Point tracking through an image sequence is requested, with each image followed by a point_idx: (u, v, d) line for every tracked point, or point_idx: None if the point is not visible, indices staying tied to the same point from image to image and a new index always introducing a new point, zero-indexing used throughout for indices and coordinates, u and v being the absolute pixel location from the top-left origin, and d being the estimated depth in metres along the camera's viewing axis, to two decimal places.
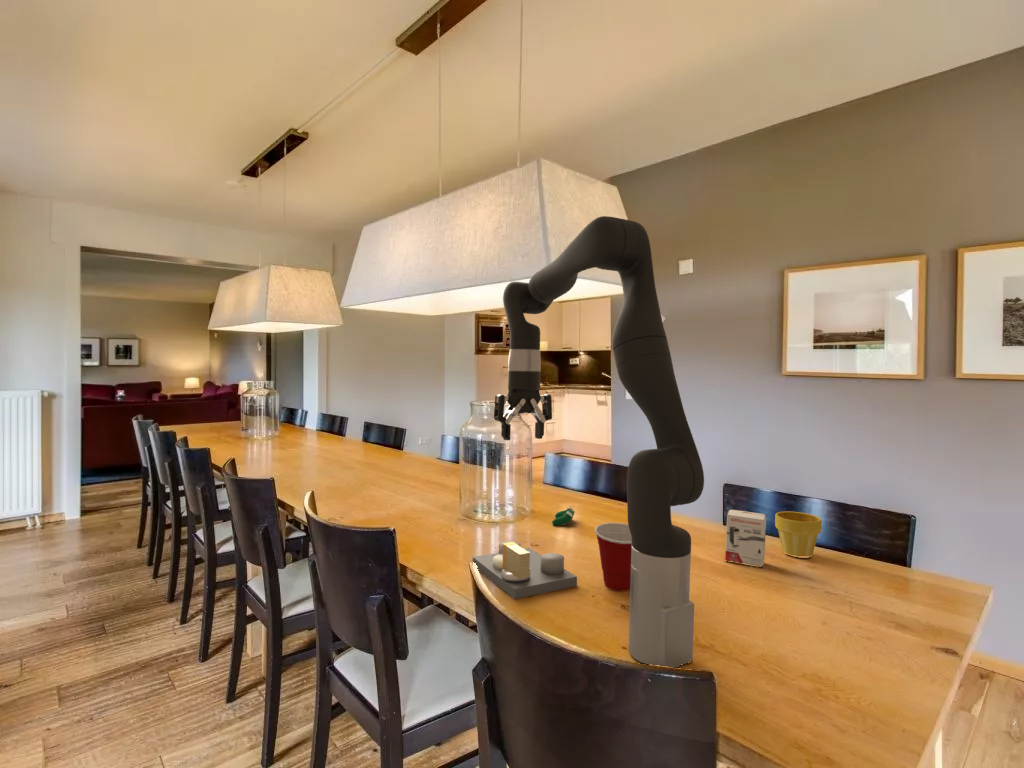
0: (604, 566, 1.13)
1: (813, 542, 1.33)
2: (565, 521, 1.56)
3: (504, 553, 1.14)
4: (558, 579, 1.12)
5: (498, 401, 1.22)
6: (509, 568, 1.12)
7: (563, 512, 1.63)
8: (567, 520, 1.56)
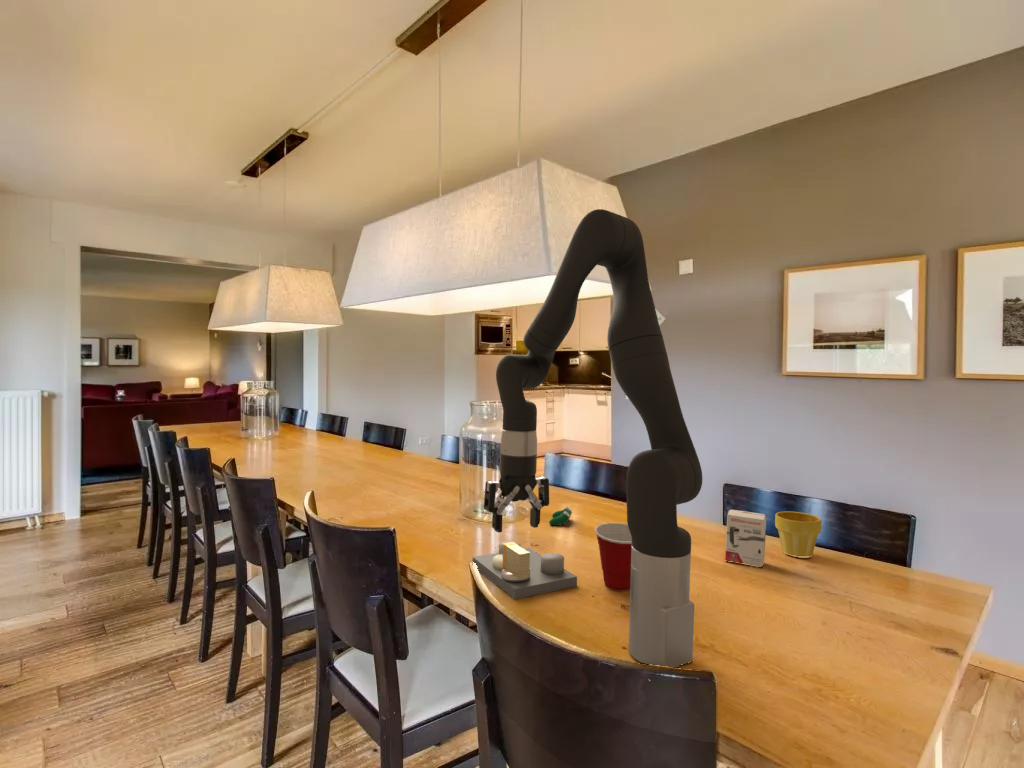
0: (604, 566, 1.13)
1: (813, 542, 1.33)
2: (562, 521, 1.56)
3: (504, 553, 1.14)
4: (558, 579, 1.12)
5: (489, 490, 1.08)
6: (509, 568, 1.12)
7: (560, 512, 1.63)
8: (564, 520, 1.56)
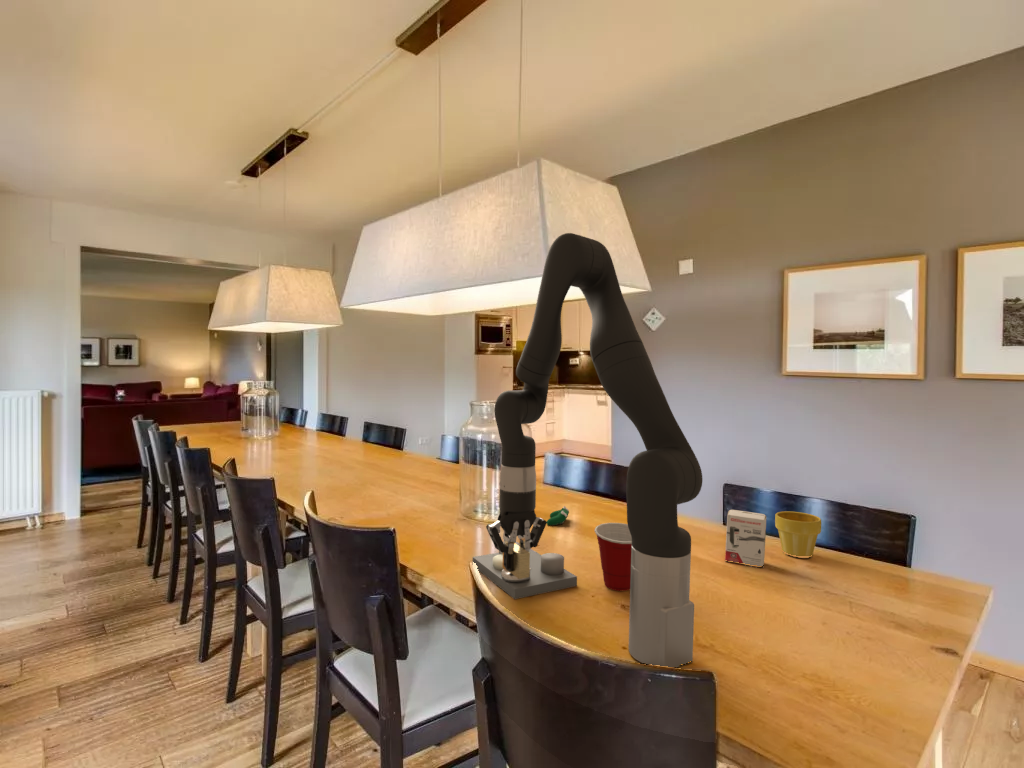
0: (604, 566, 1.13)
1: (813, 542, 1.33)
2: (559, 521, 1.56)
3: None
4: (558, 579, 1.12)
5: (492, 534, 1.09)
6: None
7: (558, 512, 1.63)
8: (561, 520, 1.56)
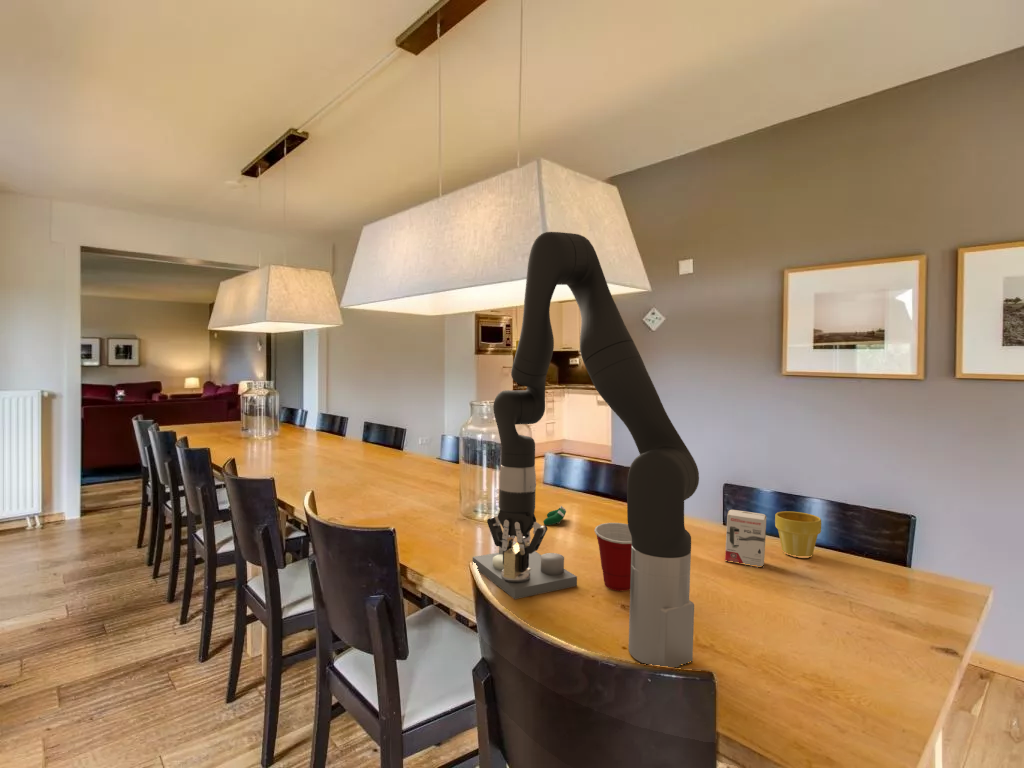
0: (604, 566, 1.13)
1: (813, 542, 1.33)
2: (556, 520, 1.57)
3: None
4: (558, 579, 1.12)
5: None
6: None
7: (555, 511, 1.63)
8: (558, 519, 1.57)
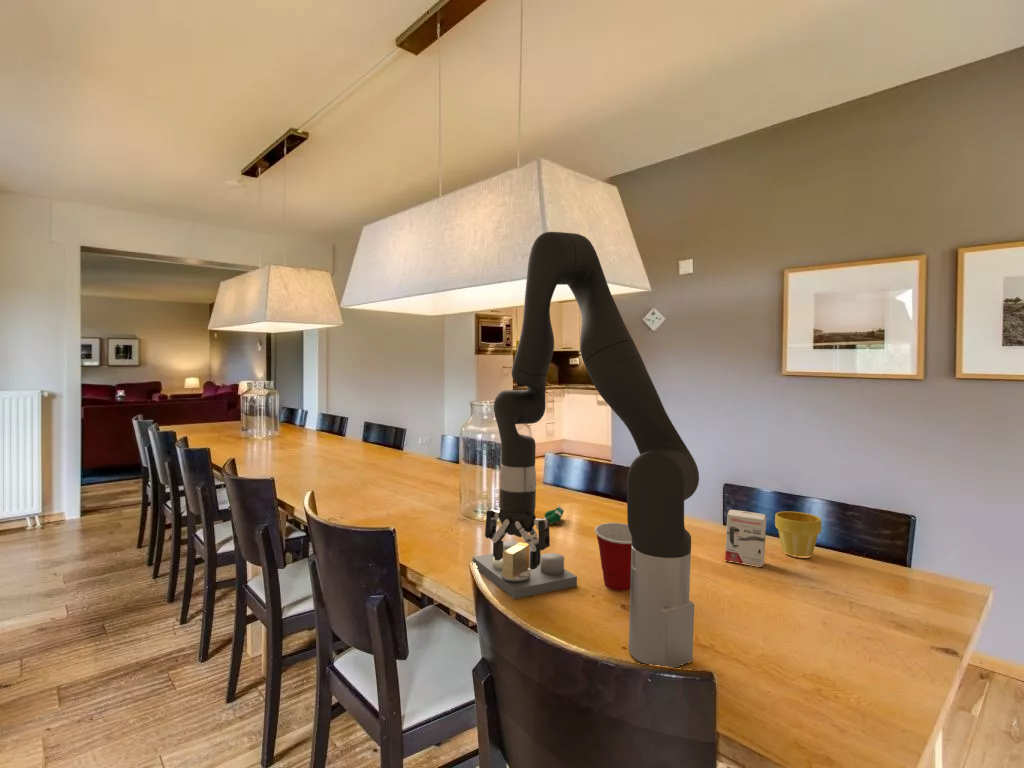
0: (604, 566, 1.13)
1: (813, 542, 1.33)
2: (554, 520, 1.57)
3: None
4: (558, 579, 1.12)
5: None
6: None
7: (552, 511, 1.64)
8: (556, 519, 1.57)
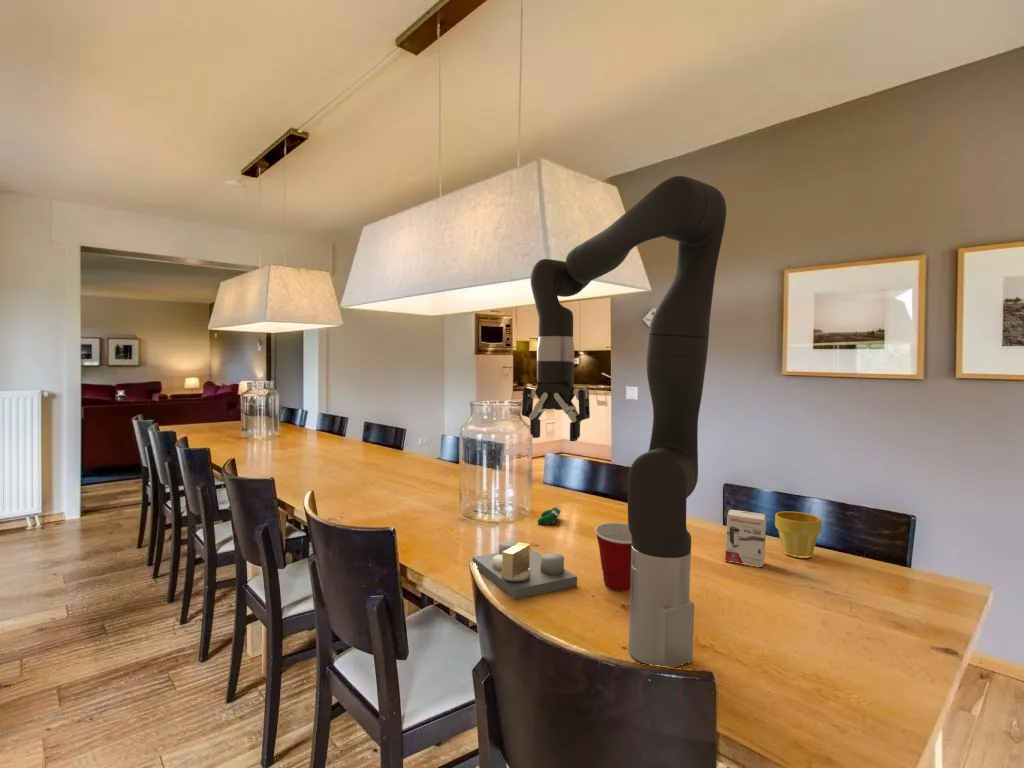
0: (604, 566, 1.13)
1: (813, 542, 1.33)
2: (550, 520, 1.57)
3: None
4: (558, 579, 1.12)
5: None
6: None
7: (549, 511, 1.64)
8: (552, 519, 1.57)
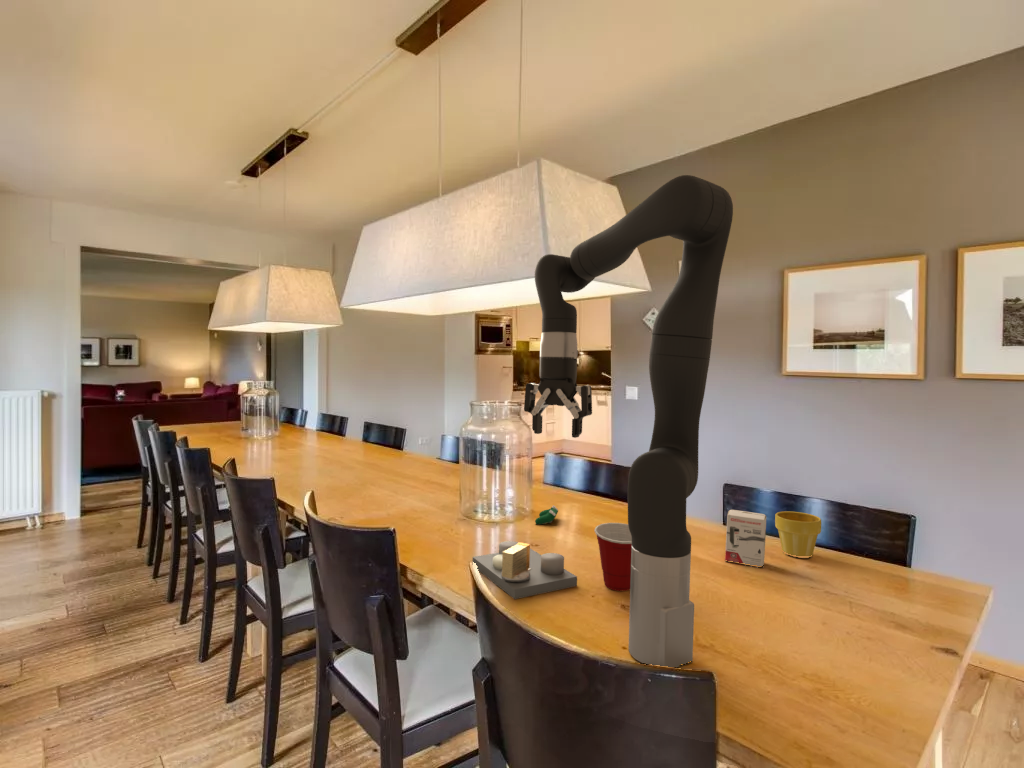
0: (604, 566, 1.13)
1: (813, 542, 1.33)
2: (548, 520, 1.57)
3: None
4: (558, 579, 1.12)
5: None
6: None
7: (547, 511, 1.64)
8: (550, 519, 1.57)
